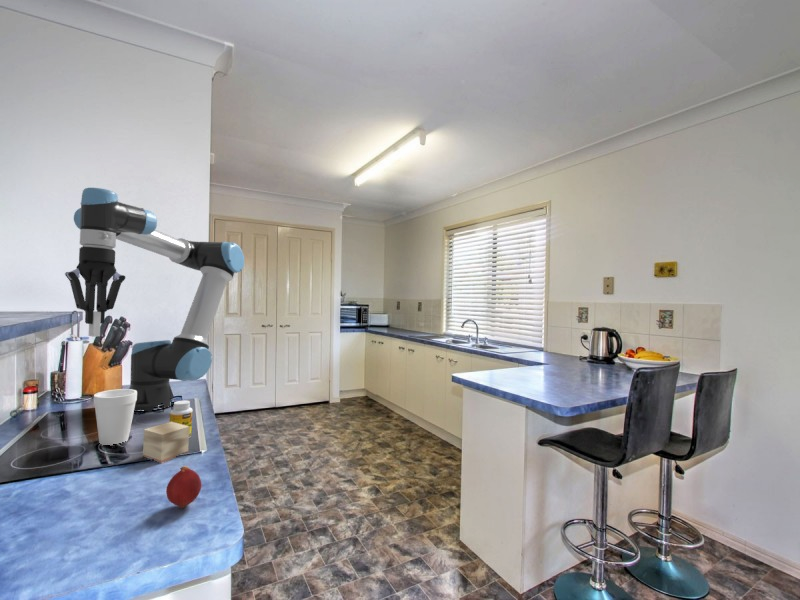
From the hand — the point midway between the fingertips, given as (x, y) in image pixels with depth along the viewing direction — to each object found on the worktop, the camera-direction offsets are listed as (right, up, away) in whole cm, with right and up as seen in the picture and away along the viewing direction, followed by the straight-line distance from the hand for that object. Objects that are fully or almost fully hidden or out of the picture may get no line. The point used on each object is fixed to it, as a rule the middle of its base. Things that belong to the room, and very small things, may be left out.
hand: (94, 336), depth 102 cm
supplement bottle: (+20, -30, +5) cm, 36 cm away
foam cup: (+4, -29, +1) cm, 29 cm away
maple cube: (+23, -23, -6) cm, 33 cm away
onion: (+40, -30, -28) cm, 58 cm away
